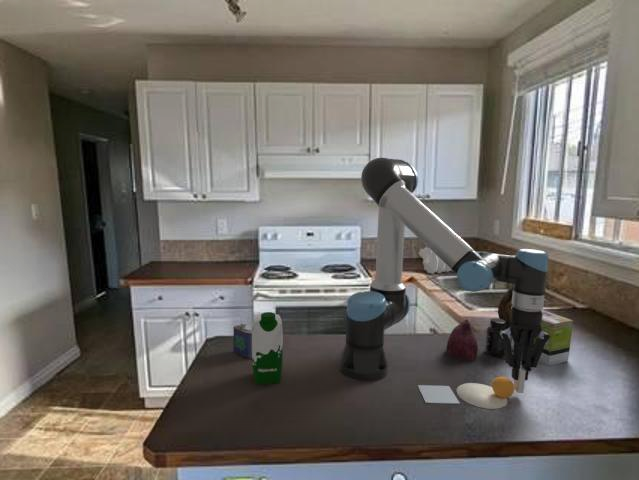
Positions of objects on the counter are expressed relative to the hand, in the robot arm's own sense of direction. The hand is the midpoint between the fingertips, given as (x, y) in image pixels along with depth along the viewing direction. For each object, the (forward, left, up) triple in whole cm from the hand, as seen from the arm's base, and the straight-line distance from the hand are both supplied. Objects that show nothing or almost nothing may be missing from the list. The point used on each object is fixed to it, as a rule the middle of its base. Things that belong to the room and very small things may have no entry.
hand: (518, 390), depth 109 cm
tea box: (+21, +28, -2) cm, 35 cm away
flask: (-80, +22, -2) cm, 83 cm away
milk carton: (-70, +7, -2) cm, 70 cm away
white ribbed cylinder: (+25, +155, -2) cm, 158 cm away
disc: (-10, 0, -2) cm, 10 cm away
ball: (-4, 0, +1) cm, 5 cm away
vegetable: (-6, +27, -2) cm, 28 cm away
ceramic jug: (+25, +51, -2) cm, 57 cm away
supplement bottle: (+6, +28, -2) cm, 29 cm away
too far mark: (-22, 0, -2) cm, 22 cm away
